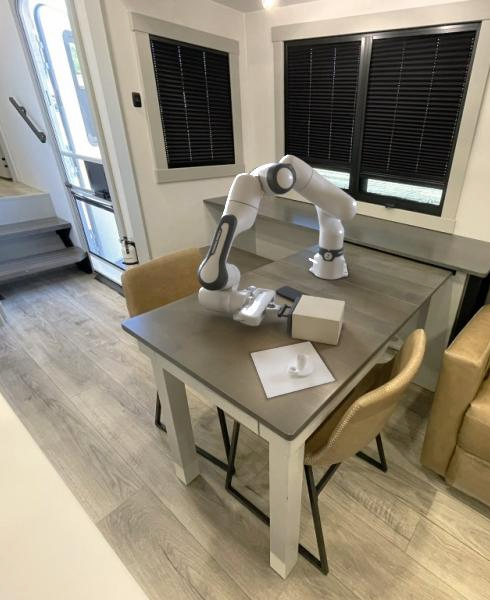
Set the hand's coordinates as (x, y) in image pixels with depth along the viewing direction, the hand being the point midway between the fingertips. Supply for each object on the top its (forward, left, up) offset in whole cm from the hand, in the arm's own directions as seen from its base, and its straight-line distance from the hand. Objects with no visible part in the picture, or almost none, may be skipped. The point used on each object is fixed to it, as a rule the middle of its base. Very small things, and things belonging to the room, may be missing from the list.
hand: (280, 309), depth 116 cm
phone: (-22, -1, -6) cm, 23 cm away
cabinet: (0, +14, -6) cm, 15 cm away
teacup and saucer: (+21, +10, -6) cm, 24 cm away
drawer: (0, +9, -5) cm, 11 cm away
